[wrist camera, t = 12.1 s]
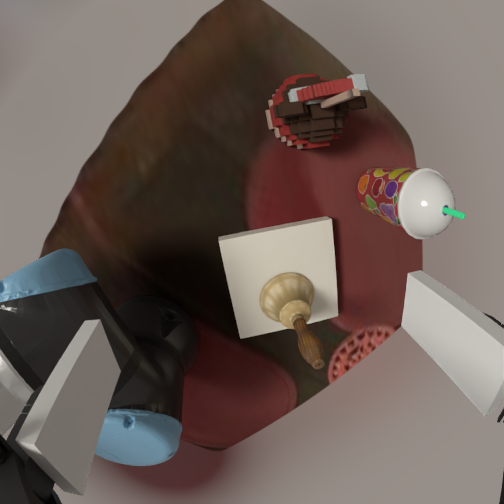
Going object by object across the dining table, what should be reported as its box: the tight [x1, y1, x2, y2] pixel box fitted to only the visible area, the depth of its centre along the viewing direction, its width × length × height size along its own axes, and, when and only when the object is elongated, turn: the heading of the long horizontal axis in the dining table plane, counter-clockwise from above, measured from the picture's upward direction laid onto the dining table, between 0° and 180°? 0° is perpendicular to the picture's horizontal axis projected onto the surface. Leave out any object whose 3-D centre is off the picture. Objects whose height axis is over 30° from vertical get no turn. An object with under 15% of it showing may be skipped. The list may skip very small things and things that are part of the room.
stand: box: [218, 216, 338, 339], centre depth 45 cm, size 16×16×2 cm
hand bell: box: [259, 272, 324, 369], centre depth 37 cm, size 8×8×16 cm
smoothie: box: [356, 167, 465, 240], centre depth 34 cm, size 8×8×20 cm
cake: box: [265, 74, 369, 149], centre depth 30 cm, size 11×9×18 cm
